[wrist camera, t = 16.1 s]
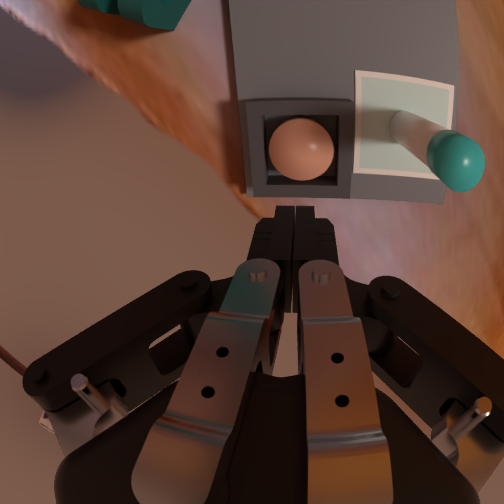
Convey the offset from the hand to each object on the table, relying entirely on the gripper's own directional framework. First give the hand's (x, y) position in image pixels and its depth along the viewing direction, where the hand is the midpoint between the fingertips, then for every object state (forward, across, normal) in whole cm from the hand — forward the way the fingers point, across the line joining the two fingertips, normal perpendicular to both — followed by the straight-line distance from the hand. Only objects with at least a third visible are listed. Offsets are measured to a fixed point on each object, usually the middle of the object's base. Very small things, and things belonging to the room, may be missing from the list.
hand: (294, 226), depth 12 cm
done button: (+14, 0, 0) cm, 14 cm away
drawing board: (+15, -5, -4) cm, 16 cm away
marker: (+14, -9, -1) cm, 17 cm away
